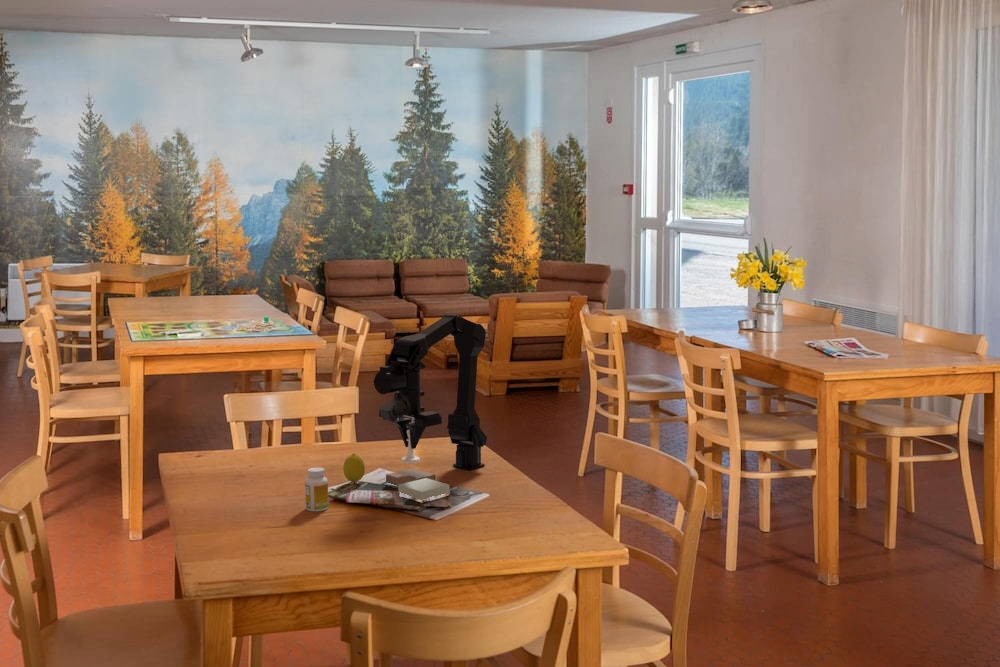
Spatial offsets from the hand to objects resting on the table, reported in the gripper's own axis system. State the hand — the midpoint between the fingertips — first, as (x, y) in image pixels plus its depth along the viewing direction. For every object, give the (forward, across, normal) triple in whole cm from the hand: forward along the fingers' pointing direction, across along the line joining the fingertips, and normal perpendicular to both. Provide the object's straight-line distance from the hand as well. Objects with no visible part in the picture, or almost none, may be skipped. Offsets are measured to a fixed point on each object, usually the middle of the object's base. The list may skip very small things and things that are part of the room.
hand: (410, 447), depth 284 cm
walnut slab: (+10, 0, 0) cm, 10 cm away
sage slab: (+10, +10, -4) cm, 15 cm away
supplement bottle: (+10, 0, -29) cm, 31 cm away
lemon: (+10, -12, -9) cm, 18 cm away
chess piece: (+4, 0, 0) cm, 4 cm away
